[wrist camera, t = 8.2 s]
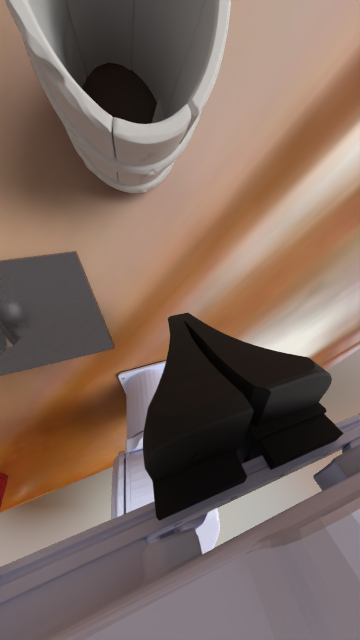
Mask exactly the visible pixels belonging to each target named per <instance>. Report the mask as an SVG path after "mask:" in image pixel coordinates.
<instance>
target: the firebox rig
mask: <svg viewBox="0 0 360 640" xmlns="http://www.w3.org/2000/svg"><path fill="white" fill-rule="evenodd" d="M0 330H1V331H2V332H3V334H4V336H5V338H6V343H7V345H6V350H5V352H4V353H3V354H2V355H1V356H0V376H1V375H5V374H10V373H14V372H18V371H22V370H26V369H31V368H35V367H39V366H43V365H47V364H52V363H56V362H60V361H64V360H68V359H73V358H77V357H81V356H85V355H89V354H94V353H98V352H102V351H106V350H110V349H114V344H113V341H112V339H111V336H110V334H109V331H108V329H107V326H106V324H105V321H104V319H103V316H102V314H101V312H100V309H99V307H98V304H97V302H96V299H95V297H94V294H93V292H92V289H91V287H90V284H89V282H88V279H87V277H86V274H85V272H84V269H83V267H82V264H81V262H80V260H79V257H78V255H77V252H76V251H74V252H66V253H58V254H50V255H42V256H34V257H26V258H18V259H10V260H2V261H0Z"/></svg>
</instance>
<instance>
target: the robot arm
mask: <svg viewBox="0 0 360 640" xmlns="http://www.w3.org/2000/svg"><path fill="white" fill-rule="evenodd" d="M168 322H169V329H170V344H169V351H168V356H167V360H166V361H163V362H159V363H155V364H152V365H148V366H144V367H141V368H137V369H133V370H129V371H126V372H122V373H119V375H118V378H119V380H120V382H121V384H122V387H123V389H124V391H125V393H126V399H127V440H126V454H125V452H124V451H121V452H119V454H118V456H117V457H116V459H115V460H114V465H113V476H112V498H111V499H112V500H111V520H109V521H107V522H105V523H102V524H100V525H98V526H95V527H93V528H91V529H88V530H86V531H84V532H81V533H79V534H77V535H74V536H72V537H70V538H67V539H65V540H63V541H60V542H58V543H56V544H53V545H51V546H49V547H46V548H44V549H41V550H39V551H37V552H34V553H32V554H30V555H27V556H25V557H23V558H21V559H18V560H16V561H13V562H11V563H9V564H6V565H4V566H2V567H0V640H360V414H357V415H355V416H352V417H350V418H348V419H345V420H343V421H341V422H339V423H336V424H334V423H333V422H332V421H331V420H330V419H329V418H327V417H326V415H325V414H324V413H325V412H326V409H325V408H324V407H323V406H322V405H321V404H320V403H319V401H320V399H321V398H322V396H323V395H324V394H325V392H326V391H327V389H328V388H329V386H330V384H331V380H332V379H331V376H330V374H329V373H328V372H327V371H325V370H324V369H323V368H322V367H320V366H319V365H318V364H316V363H315V362H314V361H312V360H311V359H310V358H308V357H303V356H297V355H292V354H287V353H282V352H277V351H273V350H269V349H265V348H262V347H258V346H255V345H252V344H249V343H246V342H243V341H240V340H238V339H235V338H233V337H230V336H228V335H226V334H224V333H222V332H220V331H218V330H216V329H214V328H212V327H210V326H208V325H207V324H205V323H203V322H202V321H200V320H199V319H197V318H195V317H194V316H192V315H191V314H189V313H184V314H179V315H174V316H170V317H169V318H168ZM341 449H342V453H343V454H341V455H339V456H338V457H336V458H334V459H333V460H332V462H331V463H330V464H328V465H327V466H326V467H325V468H323V469H322V470H321V471H319V472H318V473H316V474H315V475H314V479H315V481H316V482H317V484H318V485H319V486H320V488H321V489H322V491H321V492H319V493H318V494H316V495H314V496H312V497H310V498H308V499H306V500H304V501H302V502H300V503H298V504H296V505H295V506H293V507H291V508H289V509H287V510H285V511H283V512H281V513H279V514H278V515H276V516H274V517H272V518H270V519H268V520H266V521H264V522H262V523H261V524H259V525H257V526H255V527H253V528H251V529H249V530H247V531H245V532H244V533H242V534H240V535H238V536H236V537H234V538H232V539H230V540H229V541H227V542H225V543H223V544H221V545H219V546H217V547H215V548H214V546H215V543H216V540H217V538H218V535H219V532H220V523H219V513H218V507H220V506H222V505H224V504H227V503H229V502H231V501H233V500H235V499H237V498H239V497H241V496H244V495H246V494H248V493H250V492H252V491H254V490H256V489H258V488H261V487H263V486H265V485H267V484H269V483H271V482H273V481H276V480H278V479H280V478H282V477H284V476H286V475H288V474H290V473H292V472H295V471H297V470H299V469H301V468H303V467H305V466H307V465H309V464H312V463H314V462H316V461H318V460H320V459H322V458H324V457H326V456H329V455H331V454H333V453H335V452H337V451H339V450H341Z"/></svg>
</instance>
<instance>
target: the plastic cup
mask: <svg viewBox="0 0 360 640" xmlns="http://www.w3.org/2000/svg"><path fill="white" fill-rule="evenodd" d="M7 479H8V476H6V475H5V474H1V473H0V507H1V504H2V498H3V495H4V492H5V488H6V485H7Z"/></svg>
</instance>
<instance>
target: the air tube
mask: <svg viewBox="0 0 360 640" xmlns="http://www.w3.org/2000/svg"><path fill="white" fill-rule="evenodd" d="M6 345H7V343H6V338H5V336H4V334H3V332H2V331H1V330H0V356H1V355H2V354H3V353H4V352H5V350H6Z"/></svg>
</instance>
